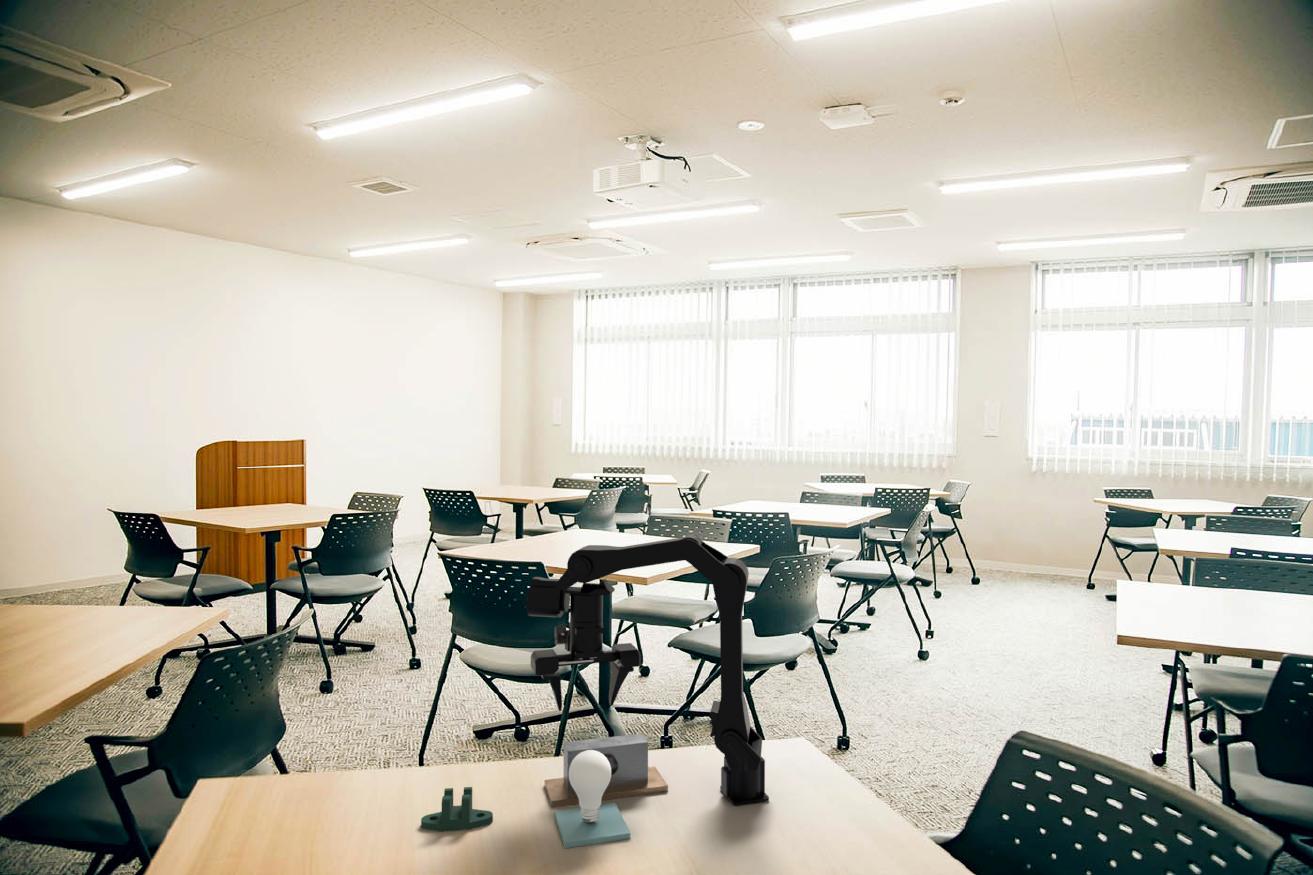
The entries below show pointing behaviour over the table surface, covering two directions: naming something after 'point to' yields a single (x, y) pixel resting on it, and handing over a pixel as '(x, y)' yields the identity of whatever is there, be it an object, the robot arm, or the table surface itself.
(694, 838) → the table surface
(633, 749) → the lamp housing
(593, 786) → the light bulb
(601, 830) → the pad
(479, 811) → the mount
